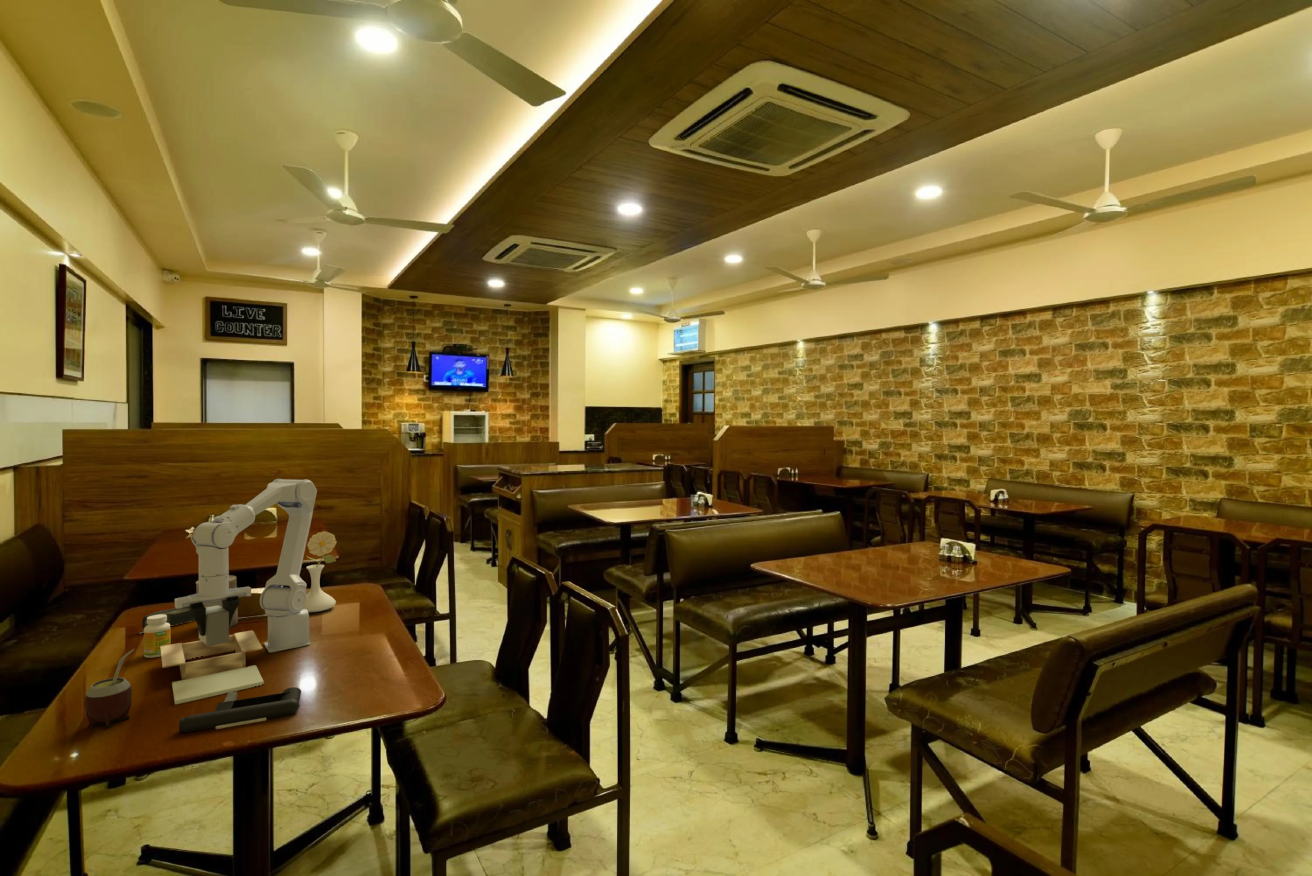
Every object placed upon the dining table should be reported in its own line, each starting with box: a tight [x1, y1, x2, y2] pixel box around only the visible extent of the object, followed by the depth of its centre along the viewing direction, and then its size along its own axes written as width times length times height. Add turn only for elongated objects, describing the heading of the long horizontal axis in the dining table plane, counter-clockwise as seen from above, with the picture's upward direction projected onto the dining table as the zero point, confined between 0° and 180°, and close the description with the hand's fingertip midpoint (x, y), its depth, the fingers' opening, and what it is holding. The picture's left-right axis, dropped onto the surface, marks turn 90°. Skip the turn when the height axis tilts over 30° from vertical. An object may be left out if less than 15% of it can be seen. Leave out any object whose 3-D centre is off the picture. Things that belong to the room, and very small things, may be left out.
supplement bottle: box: [143, 614, 172, 659], centre depth 161 cm, size 5×5×10 cm
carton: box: [160, 630, 263, 680], centre depth 154 cm, size 19×16×4 cm
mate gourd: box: [83, 648, 135, 730], centre depth 125 cm, size 8×8×15 cm
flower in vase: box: [302, 531, 337, 613], centre depth 198 cm, size 13×11×25 cm
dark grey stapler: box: [138, 606, 196, 635], centre depth 182 cm, size 5×3×15 cm
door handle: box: [178, 686, 302, 733], centre depth 131 cm, size 3×20×16 cm
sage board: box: [171, 664, 265, 705], centre depth 143 cm, size 16×12×1 cm
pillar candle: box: [195, 574, 239, 630], centre depth 183 cm, size 10×10×15 cm
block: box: [198, 605, 230, 646], centre depth 147 cm, size 4×8×7 cm, turn 48°
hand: (214, 632), depth 147 cm, fingers closed on block, 4 cm apart
